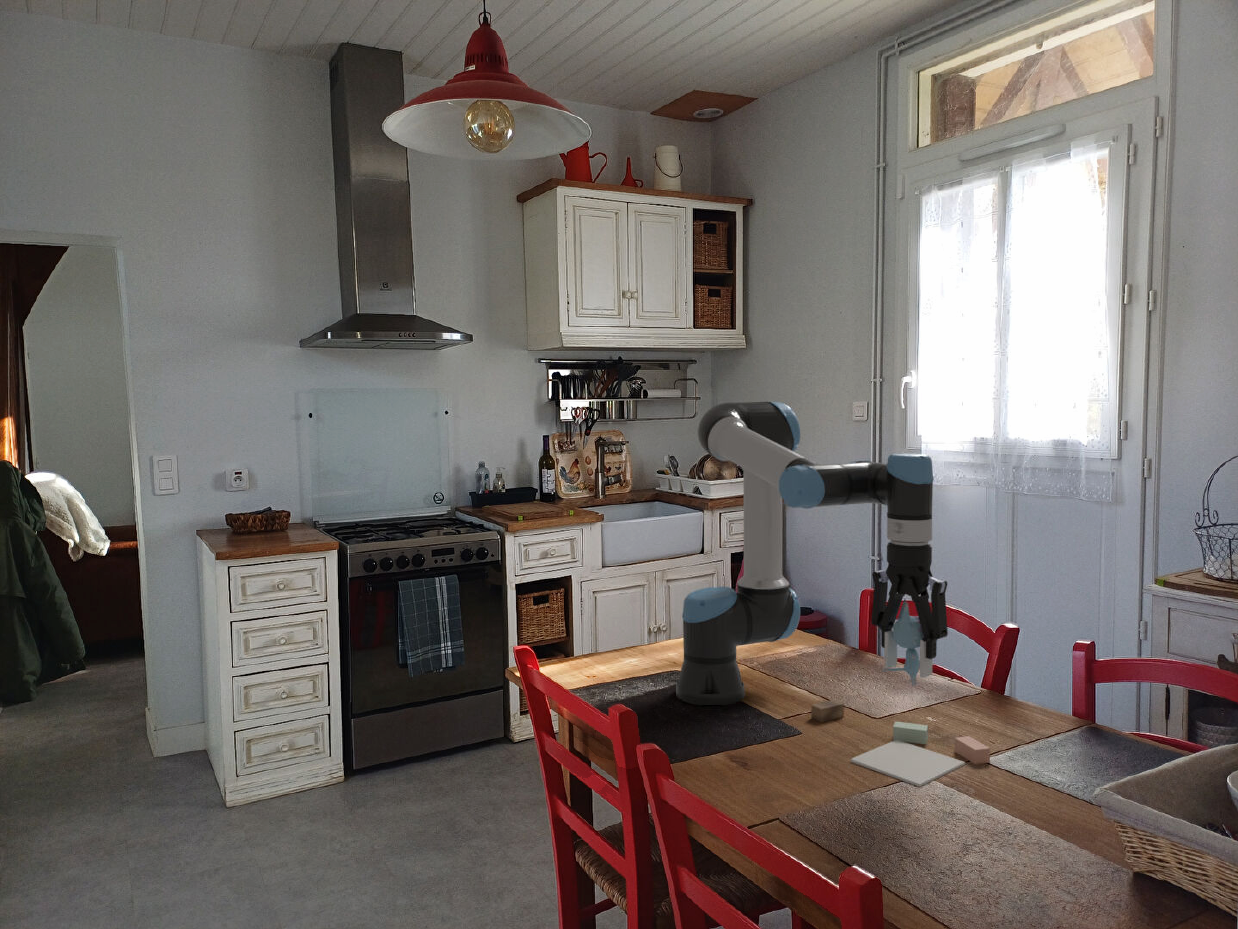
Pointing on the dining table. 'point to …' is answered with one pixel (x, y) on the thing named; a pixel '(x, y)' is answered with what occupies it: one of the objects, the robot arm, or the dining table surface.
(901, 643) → the toy
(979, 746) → the brick
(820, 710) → the brick
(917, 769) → the tile
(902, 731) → the brick
